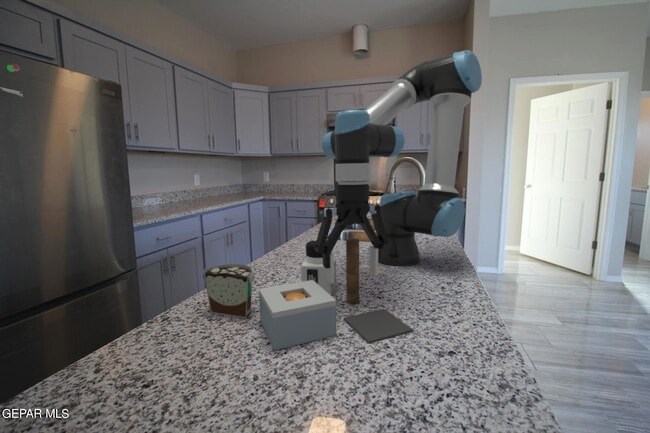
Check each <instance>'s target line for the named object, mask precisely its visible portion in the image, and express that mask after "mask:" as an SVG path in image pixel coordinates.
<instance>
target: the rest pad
mask: <svg viewBox="0 0 650 433" xmlns="http://www.w3.org/2000/svg"><path fill="white" fill-rule="evenodd" d="M343 320H344V321H345V323H346V324H347V325H349V326H350V328H352V329H353V330H354V332H356V333H357V334H358V336H360V337H361V338H362V339H363V340H364V341H365V342H366V343H367V344H371V343H375V342H379V341H382V340H386V339H390V338H394V337H397V336H401V335H405V334H408V333H412V332H414V329H413V328H412V327H410V326H409V325H407V323H405V322H403V321H402V320H401V319H399V318H398V317H396V316H395V315H393V314H392V313H391V312H389V311H388V310H387V309H385V308H381V309H377V310H372V311H367V312H363V313H362V312H361V313H359V314H354V315H350V316H345V317H343Z"/></svg>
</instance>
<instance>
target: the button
mask: <svg viewBox="0 0 650 433" xmlns="http://www.w3.org/2000/svg"><path fill="white" fill-rule="evenodd" d="M303 298H306V296H305V294H302V293H291V294H288V295H286V297H285V300H286V301H292V300H297V299H303Z"/></svg>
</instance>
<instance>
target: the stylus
mask: <svg viewBox="0 0 650 433" xmlns="http://www.w3.org/2000/svg"><path fill="white" fill-rule="evenodd" d="M345 258H346V259H345V262H346V263H345V264H346V265H345V269H346V270H345V271H346V273H345V274H346V275H345V278H346V285H345V287H346V289H345V291H346V293H345V294H346V303H347V304H349V305H358V304H359V303H360V239H359V238H347V239H346V240H345Z"/></svg>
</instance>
